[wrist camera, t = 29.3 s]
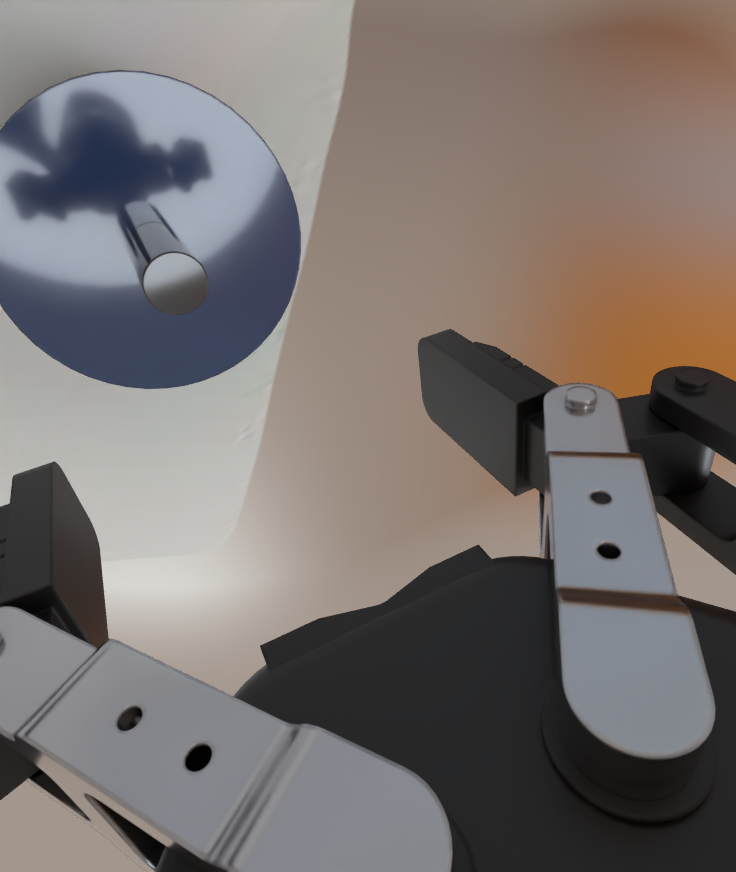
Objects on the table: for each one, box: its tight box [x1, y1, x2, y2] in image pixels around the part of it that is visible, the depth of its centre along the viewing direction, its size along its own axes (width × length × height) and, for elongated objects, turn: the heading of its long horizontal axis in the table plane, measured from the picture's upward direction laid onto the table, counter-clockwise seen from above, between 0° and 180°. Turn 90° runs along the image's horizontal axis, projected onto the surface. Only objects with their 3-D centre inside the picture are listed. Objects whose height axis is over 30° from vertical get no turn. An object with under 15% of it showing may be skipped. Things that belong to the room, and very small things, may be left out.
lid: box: [0, 70, 301, 389], centre depth 24 cm, size 14×14×7 cm
